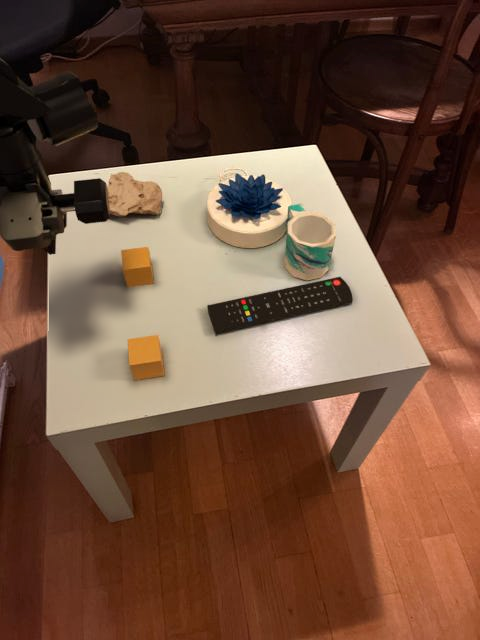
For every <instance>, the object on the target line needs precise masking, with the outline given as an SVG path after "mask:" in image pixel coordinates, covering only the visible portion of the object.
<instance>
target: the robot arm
mask: <svg viewBox="0 0 480 640" xmlns="http://www.w3.org/2000/svg"><path fill="white" fill-rule="evenodd" d="M98 127H99V117H98V114H97V111H96V109H95V107H93V104H92V102H91V100H90V98H89V96H88V94H87V93H86V91H85V90H84V89H83V87H82V84H81V80H80V78H79V77H78V76H77V75H76V74H74V73H73V72H72V71H70V70H67V71H64V72H62V73H59V74H58V75H56V76H55V77H53V78H50V79H47V80H45V81H43V82H40V83H39V82H38V83H37V84H34V85H31V86H28V85H27V84H26V83H25V82H24V81H23V80H21V79H20V77H18V76H17V74H16V73H15V71H14V70H13V68H12V66H10V65H9V64H8V63H7V62H6V61H4V60H3V59H2V58H1V57H0V238H1V239H2V240H3V241H4V242H5V243H6V244H7V246H8V247H9V248H10V249H11V250H12V251H15V252H22V251H26V250H32V249H41V250H43V251H45V252H46V253H47V254H48V255H50V256H51V255H56V254H57V235H61V234H64V233H65V229H66V228H67V226H68V225H67V223H68V213H69V212H75V216H76V219H77V221H79V222H80V223H82V224H85V225H89V224H97V223H105V222H107V221H109V220H110V219H111V214H110V210H109V193H108V189H107V186H108V184H107V183H106V181H104V180H103V179H102V178H99V177H97V178H89V179H88V178H87V179H81V180H80V179H79V180H78V179H77V180H73V193H72V192H70V193H63V190H62V189H60V188H59V189H58V188H57V189H53V188H52V182H51V179H50V176H49V177H48V174H47V173H46V170H45V167H44V165H43V162H42V155H41V152H40V150H39V149H37V146H36V142H35V140H34V138H33V135H34V136H35V137H36V139H37V140H38V141H39V142H41V143H43V142H45V141H47V143H48V144H49V145H50V146H51V147H57V146H59V145H62V144H64V143H66V142H69V141H71V140H73V139H76V138H78V137H80V136H83V135H85V134H88V133H90V132H92V131H95V130H97V128H98ZM31 132H32V133H33V135H32V133H31Z"/></svg>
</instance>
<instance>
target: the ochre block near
mask: <svg viewBox="0 0 480 640" xmlns="http://www.w3.org/2000/svg"><path fill="white" fill-rule="evenodd" d="M160 342H161V341H160V337H159V334H153V335H148V336H147V335H146V336H140V337H135V338H134V337H133V338H128V339H127V351H128V365H129V369H130V372H131V374H132V378H133V381H139V380H147V379H152V378H153V379H154V378H158V377H164V376H165V368H164V360H163V352H162V347H161V343H160Z"/></svg>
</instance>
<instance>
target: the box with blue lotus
mask: <svg viewBox="0 0 480 640" xmlns="http://www.w3.org/2000/svg"><path fill="white" fill-rule="evenodd" d="M230 170H237V171H241V172H242V173H244V174H245V175H242V174H240V173H238V172H237V173H236V172H231V173H226V174H224V173H225V172H228V171H230ZM223 174H224V175H223ZM229 176H233V177H230V178H227V177H229ZM218 177H219V182H218V183H217V184H216V185H215V186H214V187H213V188H212V189H211V190H210V192H209V194H208V196H207V199H206V214H207V215H206V218H207V225H208V227H209V230H210V231H211V232H212V233H213V235H214V236H215V237H216V238H217V239H219V240H220V241H221V242H223V243H226V244H227V245H230V246H233V247H236V248H242V249H258V248H262V247H266V246H269V245H272V244H274V243H276V242H278V241H279V240H280V239H282V237H284V235H285V234H286V233H287V227H286V226H287V215H288V206H291V205H292V201H291V197H290V195H289V193H288V192H287V190H285V189H284V187H282V186H281V185H280V184H279V183H277V182H276V181H274V180H272V179H269V178H266V175H265V174H263V173H262V175H252V174H250V175H249V173H248V172H247V171H246V170H245V169H243V168H241V167H228V168H224V169H222V170H221V171H220V172H219V176H218ZM225 178H226V179H225Z"/></svg>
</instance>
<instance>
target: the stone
mask: <svg viewBox="0 0 480 640" xmlns="http://www.w3.org/2000/svg"><path fill="white" fill-rule="evenodd" d="M107 189H108V193H109V210H110V215H114V216H116V217H121V218H122V217H126V216H127V215H128V214H139V215H154V216H155V215H156V216H158V215H161V212H162V202H163V190H162V188H161V187H160V185H159V184H158V183H157V182H154V181H151V180H147V181H141V180H136V179H134V177H133V176H132V174H130V173H129V172H125V171H120V172H117V173H113V174H110V176H109V179H108V185H107Z"/></svg>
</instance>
